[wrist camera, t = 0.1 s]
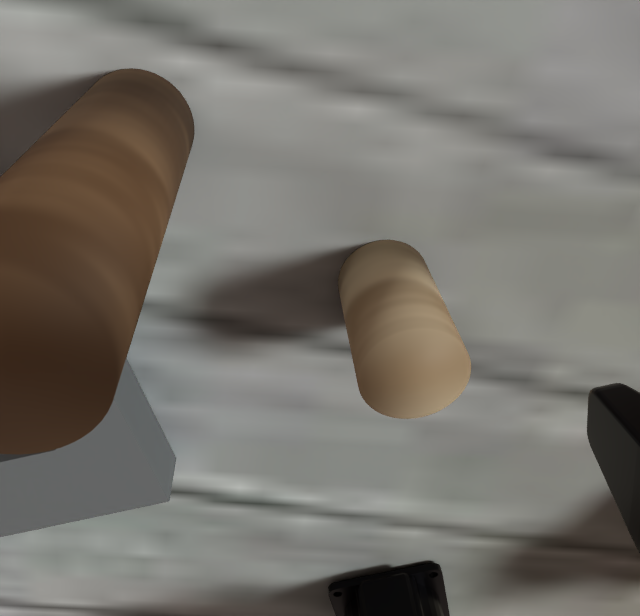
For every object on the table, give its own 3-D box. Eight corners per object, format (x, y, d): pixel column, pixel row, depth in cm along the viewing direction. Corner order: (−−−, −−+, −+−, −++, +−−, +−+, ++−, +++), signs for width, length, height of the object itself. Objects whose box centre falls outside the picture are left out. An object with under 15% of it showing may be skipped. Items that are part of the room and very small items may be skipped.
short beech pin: (432, 307, 25) (475, 405, 20) (346, 326, 25) (368, 428, 20) (422, 230, 23) (466, 317, 18) (329, 251, 23) (348, 343, 18)
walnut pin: (208, 164, 21) (150, 428, 10) (109, 188, 21) (-54, 473, 10) (173, 56, 19) (53, 240, 8) (63, 83, 19) (-196, 299, 8)
